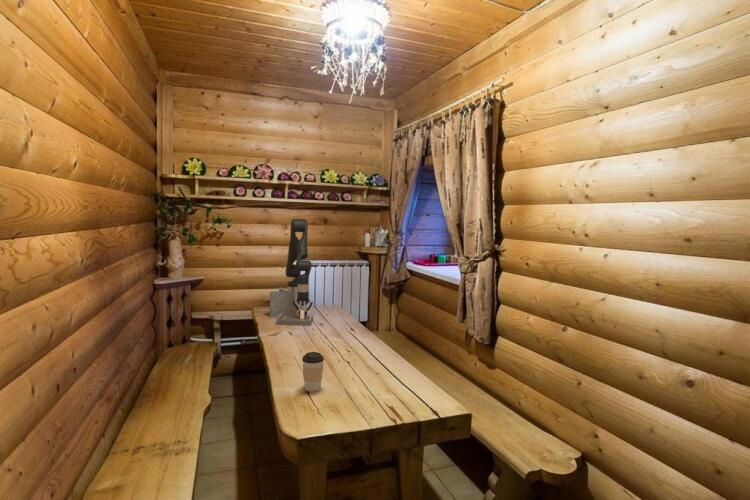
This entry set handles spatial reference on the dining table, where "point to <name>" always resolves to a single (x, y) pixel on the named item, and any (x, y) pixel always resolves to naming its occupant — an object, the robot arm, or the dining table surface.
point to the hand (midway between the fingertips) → (302, 316)
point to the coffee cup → (312, 371)
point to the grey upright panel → (281, 303)
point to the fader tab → (302, 314)
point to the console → (294, 320)
